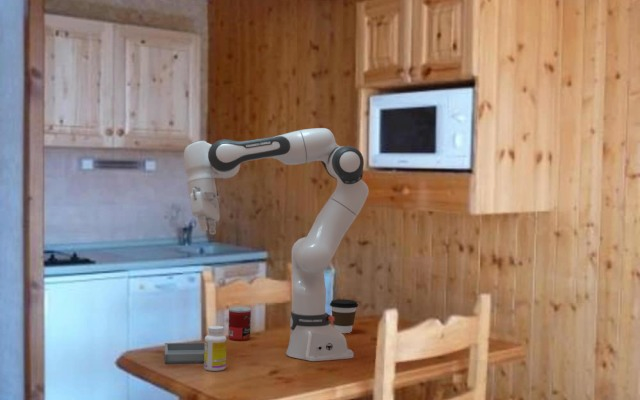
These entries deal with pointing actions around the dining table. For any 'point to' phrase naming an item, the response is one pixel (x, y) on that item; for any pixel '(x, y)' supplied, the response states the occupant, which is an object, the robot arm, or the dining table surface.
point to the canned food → (239, 323)
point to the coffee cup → (343, 314)
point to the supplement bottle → (215, 349)
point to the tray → (184, 353)
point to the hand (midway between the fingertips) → (208, 232)
